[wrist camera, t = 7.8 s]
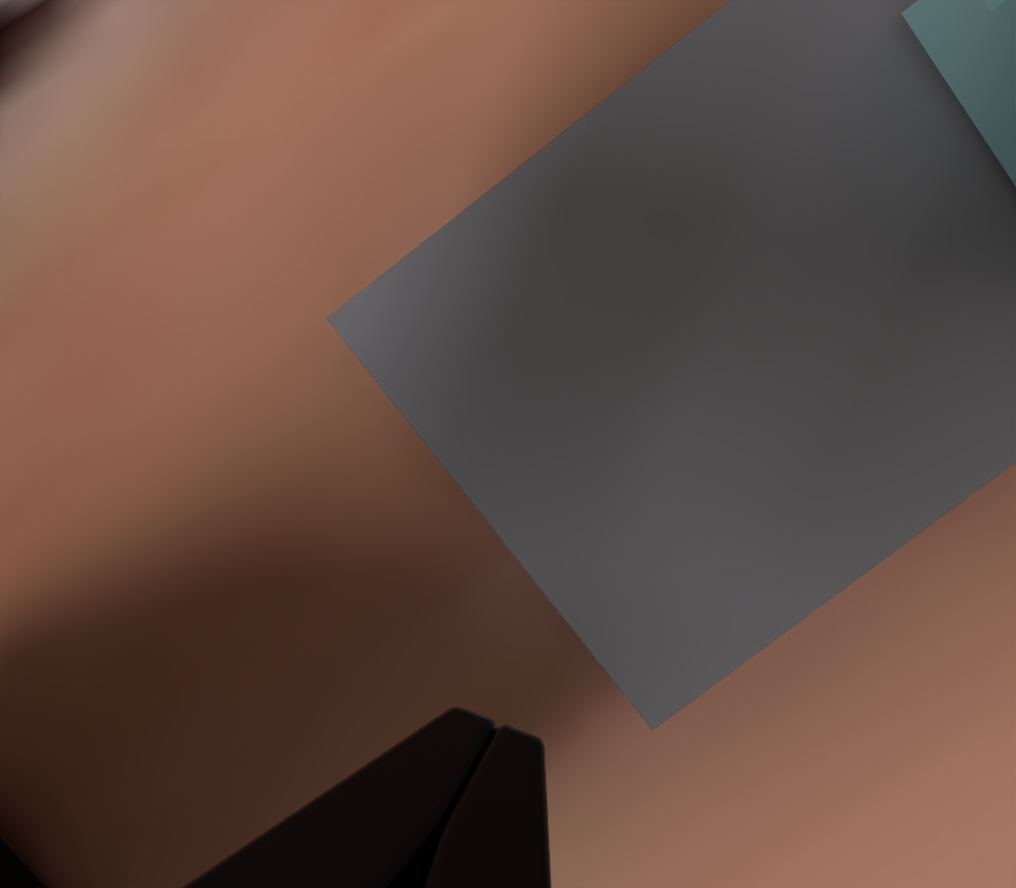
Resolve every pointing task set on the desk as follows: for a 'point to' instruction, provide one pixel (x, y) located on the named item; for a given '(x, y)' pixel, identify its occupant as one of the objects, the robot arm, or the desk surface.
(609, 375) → the track
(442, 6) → the desk surface
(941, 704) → the desk surface
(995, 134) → the teal upright block
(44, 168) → the desk surface
